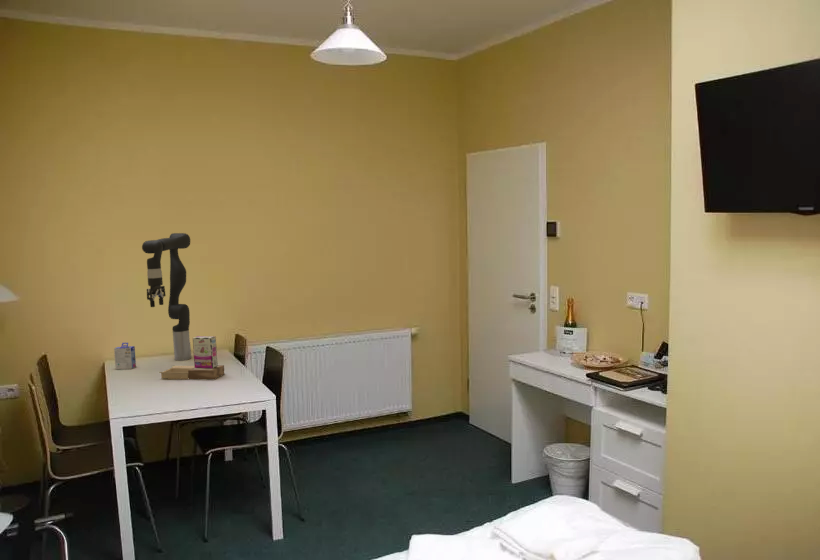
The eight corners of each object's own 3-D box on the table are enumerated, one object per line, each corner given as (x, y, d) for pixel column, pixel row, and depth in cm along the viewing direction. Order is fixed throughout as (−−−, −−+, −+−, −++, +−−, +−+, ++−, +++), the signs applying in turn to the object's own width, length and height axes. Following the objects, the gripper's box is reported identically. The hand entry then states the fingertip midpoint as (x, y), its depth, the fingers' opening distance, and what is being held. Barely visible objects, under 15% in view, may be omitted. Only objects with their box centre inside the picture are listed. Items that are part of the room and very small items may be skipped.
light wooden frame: (173, 372, 354) (172, 365, 353) (200, 373, 351) (199, 366, 351) (159, 379, 340) (158, 372, 340) (186, 379, 337) (186, 372, 337)
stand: (200, 373, 350) (199, 364, 349) (224, 374, 347) (223, 365, 347) (188, 379, 338) (188, 370, 338) (213, 379, 336) (213, 370, 335)
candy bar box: (218, 366, 343) (216, 336, 342) (212, 368, 339) (211, 337, 337) (199, 365, 346) (197, 335, 345) (194, 368, 341) (192, 337, 340)
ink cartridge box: (136, 366, 371) (134, 341, 370) (132, 369, 366) (130, 343, 364) (119, 367, 372) (117, 342, 370) (115, 369, 366) (113, 344, 365)
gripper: (153, 278, 350) (156, 307, 351) (168, 275, 363) (170, 304, 365) (141, 278, 351) (143, 308, 353) (155, 275, 365) (158, 304, 367)
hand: (157, 305), depth 359 cm, fingers open, 8 cm apart
